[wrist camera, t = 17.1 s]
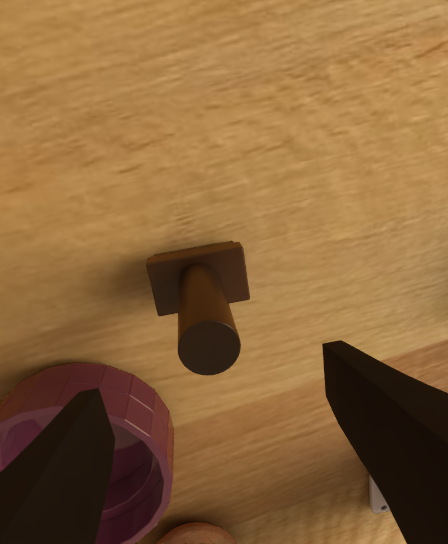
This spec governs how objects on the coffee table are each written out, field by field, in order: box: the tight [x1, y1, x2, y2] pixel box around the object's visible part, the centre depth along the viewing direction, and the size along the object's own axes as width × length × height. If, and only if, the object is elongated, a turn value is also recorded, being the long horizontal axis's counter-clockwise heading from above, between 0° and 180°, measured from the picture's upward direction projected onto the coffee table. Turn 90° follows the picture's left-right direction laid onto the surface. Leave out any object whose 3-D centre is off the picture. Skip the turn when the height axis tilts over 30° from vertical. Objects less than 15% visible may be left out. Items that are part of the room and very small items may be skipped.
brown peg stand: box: [146, 241, 250, 375], centre depth 17 cm, size 5×3×9 cm, turn 99°
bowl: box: [0, 363, 174, 544], centre depth 22 cm, size 11×11×4 cm
